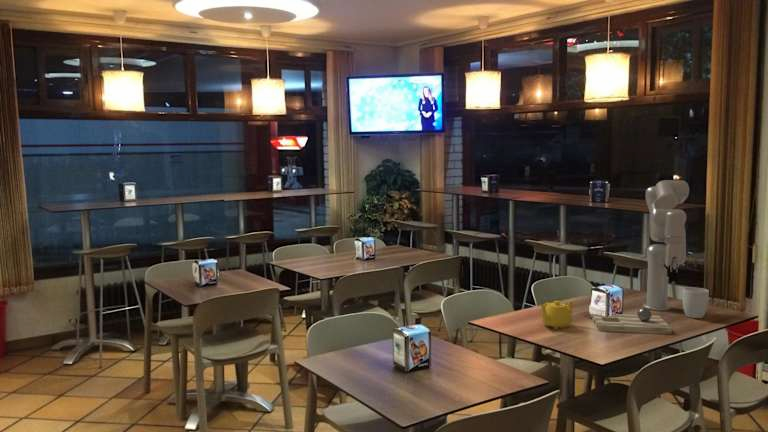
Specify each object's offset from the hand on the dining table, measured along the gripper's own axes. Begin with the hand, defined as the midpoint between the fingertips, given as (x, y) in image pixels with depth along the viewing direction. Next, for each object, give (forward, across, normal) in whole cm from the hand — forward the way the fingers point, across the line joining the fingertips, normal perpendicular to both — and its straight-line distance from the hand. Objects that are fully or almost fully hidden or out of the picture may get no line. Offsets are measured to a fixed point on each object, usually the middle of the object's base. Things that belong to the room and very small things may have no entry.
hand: (672, 279), depth 284 cm
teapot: (+23, +10, -48) cm, 54 cm away
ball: (+17, -2, -10) cm, 20 cm away
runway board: (+22, -1, -16) cm, 28 cm away
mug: (+23, -27, +14) cm, 38 cm away
